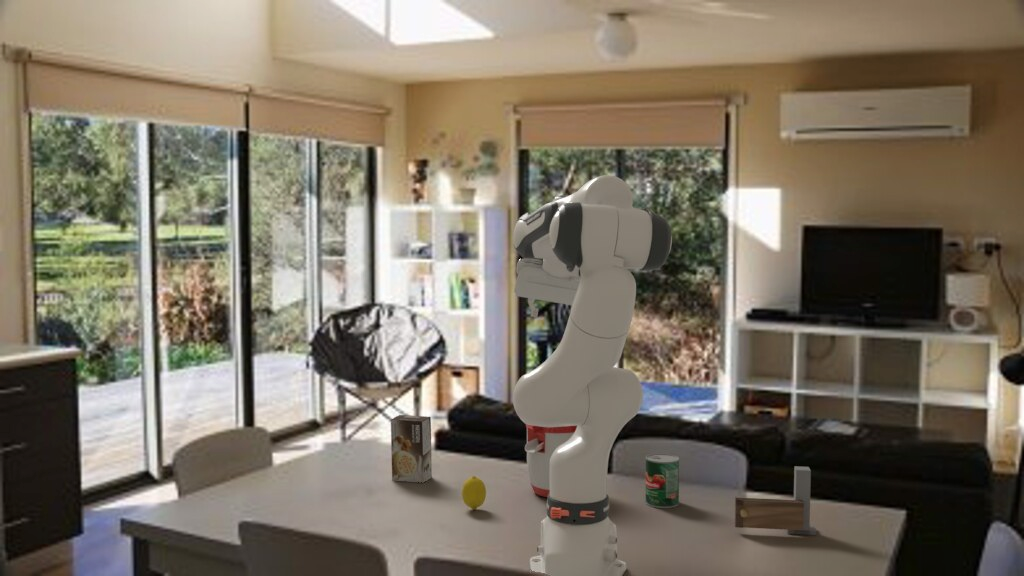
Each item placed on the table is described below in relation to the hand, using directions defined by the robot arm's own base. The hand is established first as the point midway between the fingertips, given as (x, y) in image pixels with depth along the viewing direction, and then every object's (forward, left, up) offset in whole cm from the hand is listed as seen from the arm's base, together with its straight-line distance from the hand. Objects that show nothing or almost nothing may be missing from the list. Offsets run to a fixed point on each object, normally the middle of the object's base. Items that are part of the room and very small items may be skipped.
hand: (553, 319), depth 227 cm
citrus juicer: (+6, 0, -44) cm, 44 cm away
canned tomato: (+2, -26, -44) cm, 51 cm away
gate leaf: (-18, -48, -42) cm, 66 cm away
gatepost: (-14, -55, -44) cm, 72 cm away
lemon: (-10, +17, -44) cm, 48 cm away
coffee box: (+13, +38, -44) cm, 60 cm away
